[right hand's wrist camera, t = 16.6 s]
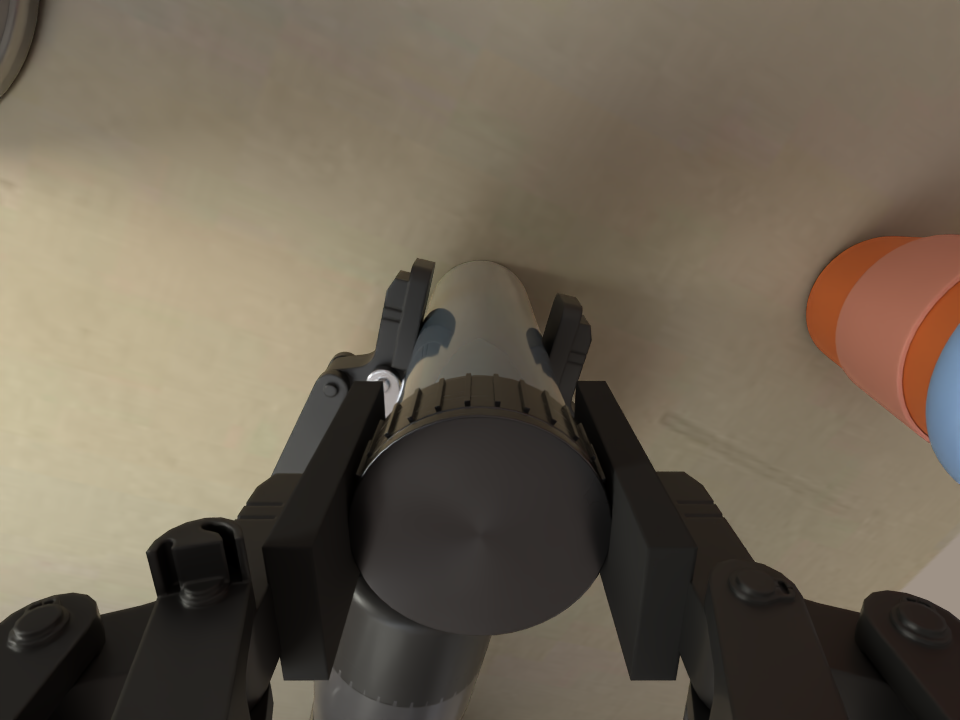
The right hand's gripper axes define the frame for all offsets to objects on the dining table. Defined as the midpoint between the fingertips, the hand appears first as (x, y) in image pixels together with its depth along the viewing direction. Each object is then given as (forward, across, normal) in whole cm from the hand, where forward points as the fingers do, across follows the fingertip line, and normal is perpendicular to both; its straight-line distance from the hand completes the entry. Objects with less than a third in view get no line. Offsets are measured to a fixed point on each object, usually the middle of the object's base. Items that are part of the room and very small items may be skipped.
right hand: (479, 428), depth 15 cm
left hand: (+6, -1, -3) cm, 7 cm away
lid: (-4, 0, 0) cm, 4 cm away
